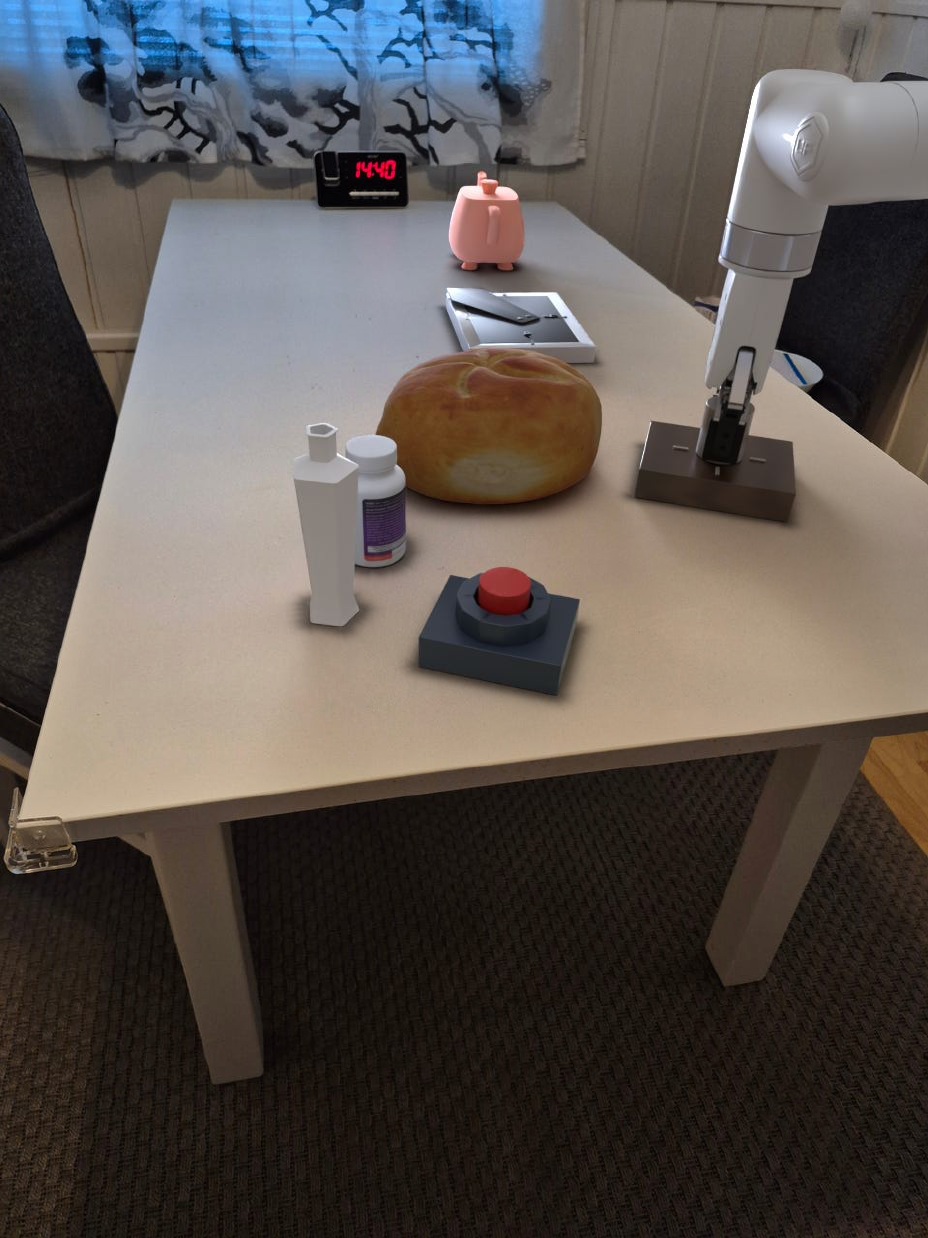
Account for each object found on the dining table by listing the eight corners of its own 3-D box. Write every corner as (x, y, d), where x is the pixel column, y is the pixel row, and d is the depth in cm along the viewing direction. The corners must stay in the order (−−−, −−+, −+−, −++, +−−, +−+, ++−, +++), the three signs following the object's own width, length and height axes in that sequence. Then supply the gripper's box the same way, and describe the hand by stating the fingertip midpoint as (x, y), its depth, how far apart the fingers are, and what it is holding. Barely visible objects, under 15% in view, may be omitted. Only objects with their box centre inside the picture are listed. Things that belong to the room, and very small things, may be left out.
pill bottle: (415, 541, 75) (416, 437, 69) (391, 575, 71) (389, 467, 65) (357, 528, 76) (353, 425, 71) (330, 560, 72) (323, 453, 66)
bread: (339, 428, 92) (334, 334, 86) (538, 399, 100) (547, 311, 94) (417, 539, 75) (418, 432, 69) (648, 494, 83) (667, 394, 77)
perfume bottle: (314, 637, 64) (299, 451, 55) (295, 604, 67) (277, 423, 58) (372, 621, 66) (367, 438, 57) (351, 590, 69) (342, 412, 60)
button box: (575, 627, 67) (583, 578, 64) (556, 695, 60) (564, 645, 58) (449, 602, 68) (450, 554, 66) (418, 666, 62) (418, 616, 60)
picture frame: (446, 308, 123) (468, 365, 107) (446, 287, 121) (469, 342, 105) (555, 307, 125) (593, 362, 109) (557, 286, 124) (596, 340, 107)
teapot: (530, 280, 135) (538, 195, 128) (454, 279, 134) (457, 193, 126) (511, 244, 151) (517, 166, 143) (442, 243, 149) (444, 165, 142)
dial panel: (784, 468, 89) (793, 439, 87) (787, 522, 80) (796, 492, 78) (646, 446, 91) (651, 418, 89) (634, 497, 83) (639, 467, 81)
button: (533, 591, 63) (535, 571, 62) (523, 621, 60) (525, 600, 59) (484, 582, 64) (486, 562, 63) (472, 611, 61) (473, 590, 60)
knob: (696, 440, 86) (708, 389, 83) (742, 447, 85) (756, 395, 82) (694, 460, 83) (705, 407, 79) (742, 468, 82) (755, 414, 79)
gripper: (725, 218, 80) (686, 407, 91) (717, 269, 67) (672, 483, 78) (811, 227, 78) (760, 418, 89) (820, 281, 65) (759, 497, 76)
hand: (720, 446), depth 83 cm, fingers closed on knob, 4 cm apart
